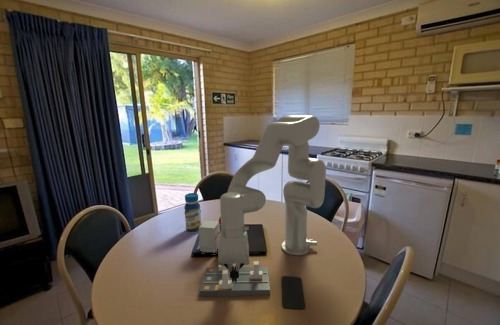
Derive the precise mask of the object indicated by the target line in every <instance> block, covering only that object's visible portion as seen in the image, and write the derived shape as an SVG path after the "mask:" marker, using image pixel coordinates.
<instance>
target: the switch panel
mask: <svg viewBox="0 0 500 325" xmlns="http://www.w3.org/2000/svg"><path fill="white" fill-rule="evenodd" d="M234 269H235V266H234ZM268 269H269V268H268V266H259V271H262V274H263V279H250V271H254V266H243V267H242V268H240V269H239V278H237V282H235V279H234V282H232V289H219V282H220V280H223V278H222V273H223V271H219V267H206V268H205V271H204V274H203V278H202V282H201V286H200V289H199V296H200V297H214V296H215V297H221V296H222V297H225V296H226V297H228V296H230V297H231V296H233V297H234V296H270V295H271V287H270V286H271V285H270V276H269V270H268ZM228 278H229V280H232V278H230V271H228Z"/></svg>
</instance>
